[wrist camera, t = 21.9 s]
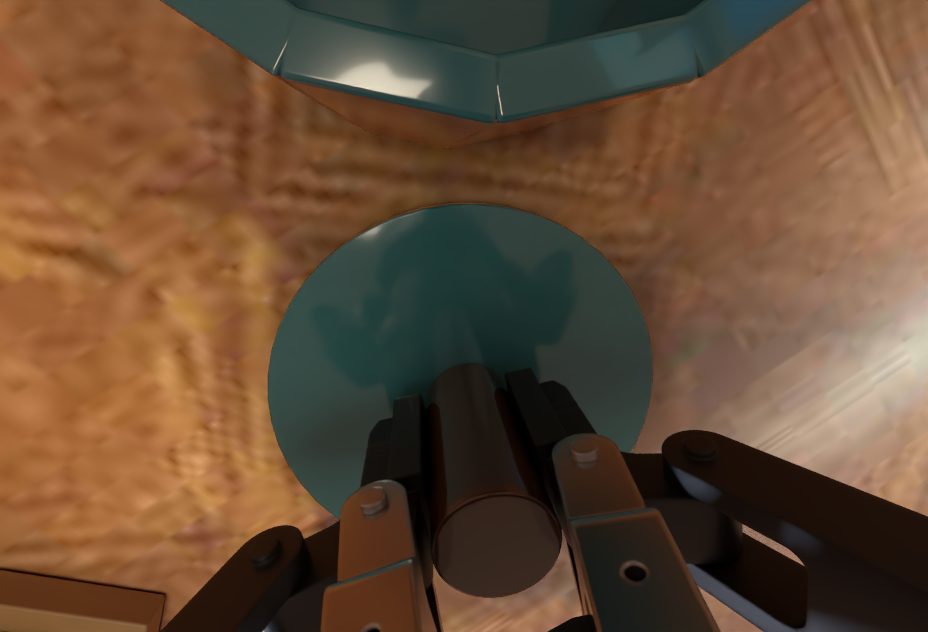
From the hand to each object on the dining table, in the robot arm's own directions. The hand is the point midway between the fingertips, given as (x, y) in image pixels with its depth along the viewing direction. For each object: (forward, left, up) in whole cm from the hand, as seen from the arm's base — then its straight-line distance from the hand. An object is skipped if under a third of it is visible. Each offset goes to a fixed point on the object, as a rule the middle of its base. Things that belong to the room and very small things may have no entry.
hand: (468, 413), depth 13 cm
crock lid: (0, 0, -1) cm, 1 cm away
